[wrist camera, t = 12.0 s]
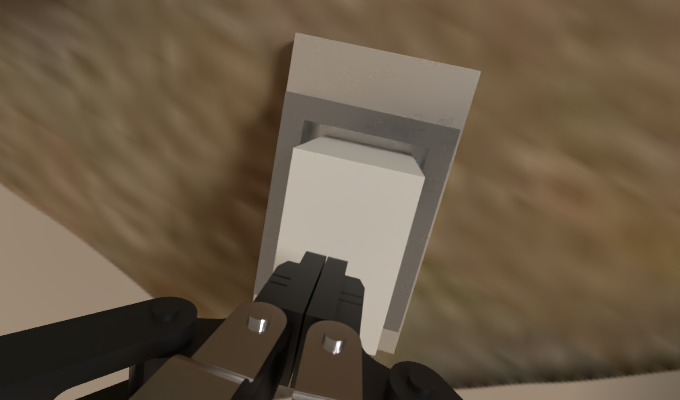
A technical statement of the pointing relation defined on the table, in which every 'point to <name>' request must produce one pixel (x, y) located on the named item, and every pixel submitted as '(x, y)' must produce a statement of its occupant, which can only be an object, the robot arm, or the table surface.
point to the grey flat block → (372, 135)
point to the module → (352, 216)
